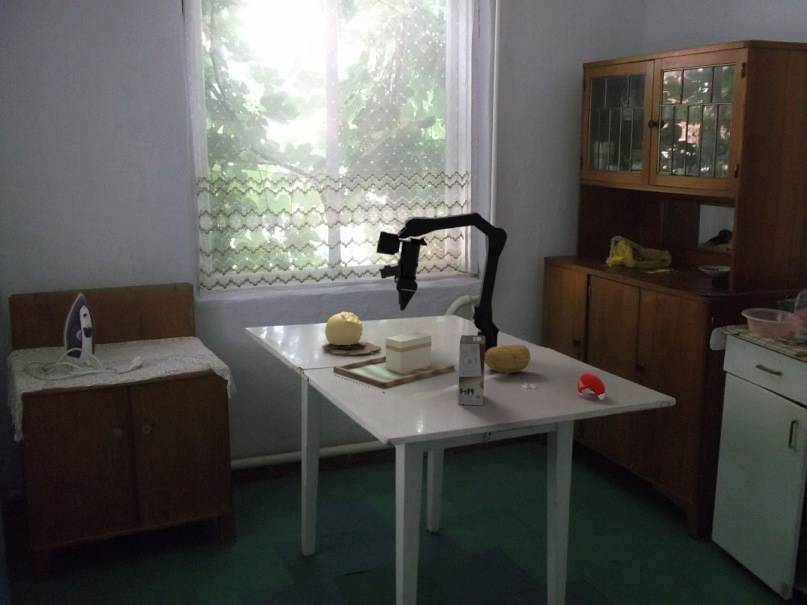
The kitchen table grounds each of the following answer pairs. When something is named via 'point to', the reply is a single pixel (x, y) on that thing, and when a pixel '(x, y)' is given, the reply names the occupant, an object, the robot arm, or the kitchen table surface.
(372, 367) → the tray
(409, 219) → the robot arm
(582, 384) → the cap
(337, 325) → the sculpture
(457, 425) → the kitchen table surface
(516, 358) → the potato
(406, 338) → the cream block
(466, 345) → the coffee box
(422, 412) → the kitchen table surface
